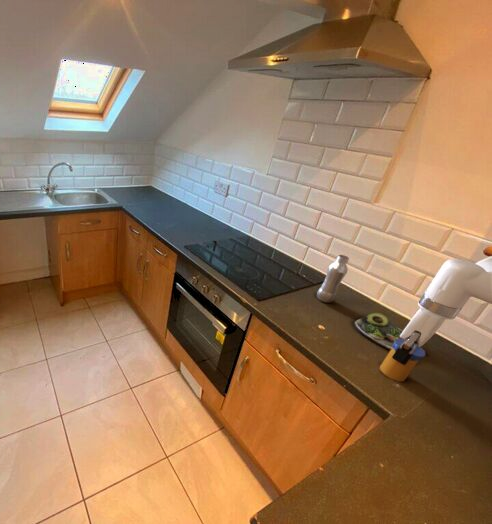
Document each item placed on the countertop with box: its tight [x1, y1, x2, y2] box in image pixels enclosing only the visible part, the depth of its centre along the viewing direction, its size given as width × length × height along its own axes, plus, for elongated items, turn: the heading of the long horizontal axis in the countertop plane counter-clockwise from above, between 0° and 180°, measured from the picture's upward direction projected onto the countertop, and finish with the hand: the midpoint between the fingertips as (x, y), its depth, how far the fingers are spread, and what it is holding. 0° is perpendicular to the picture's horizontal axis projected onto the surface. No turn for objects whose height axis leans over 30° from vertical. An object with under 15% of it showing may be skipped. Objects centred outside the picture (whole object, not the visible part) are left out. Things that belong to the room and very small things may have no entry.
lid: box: [392, 339, 426, 362], centre depth 84 cm, size 7×7×2 cm
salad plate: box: [353, 312, 406, 351], centre depth 103 cm, size 19×18×5 cm
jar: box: [379, 347, 419, 382], centre depth 86 cm, size 6×6×10 cm
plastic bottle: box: [316, 254, 350, 304], centre depth 118 cm, size 6×7×20 cm
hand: (403, 356), depth 85 cm, fingers closed on lid, 6 cm apart
